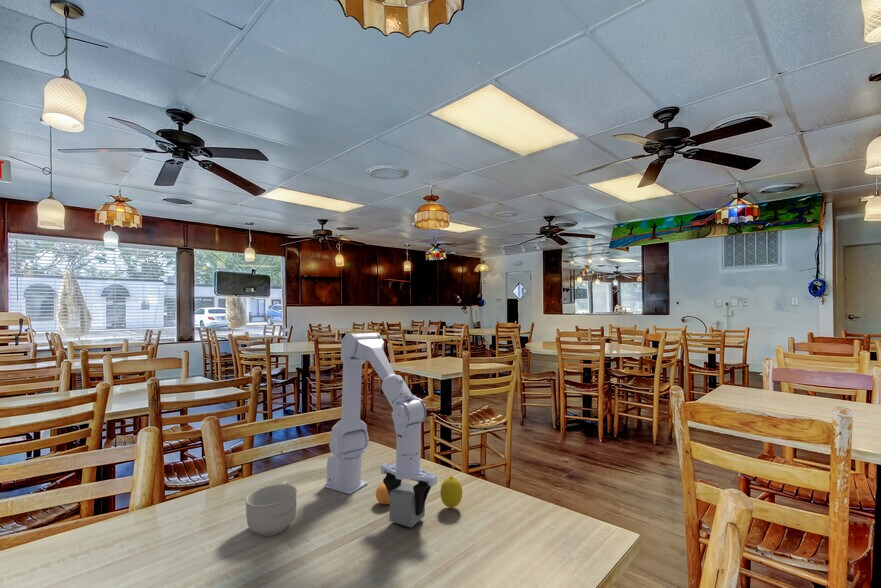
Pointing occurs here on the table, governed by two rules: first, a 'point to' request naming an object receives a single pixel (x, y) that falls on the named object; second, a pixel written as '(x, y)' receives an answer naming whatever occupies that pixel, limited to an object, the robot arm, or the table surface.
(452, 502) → the lemon
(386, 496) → the ball
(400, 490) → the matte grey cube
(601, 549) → the table surface
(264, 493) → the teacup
